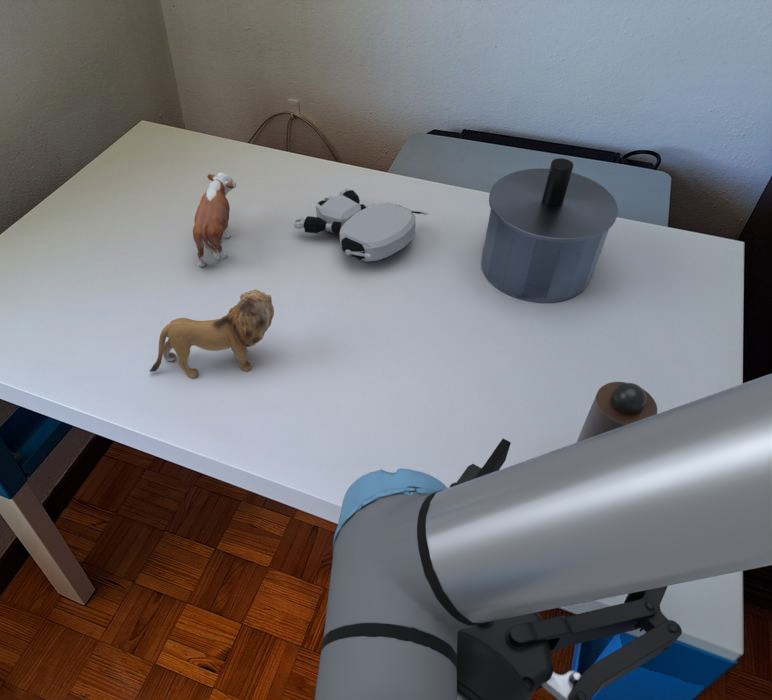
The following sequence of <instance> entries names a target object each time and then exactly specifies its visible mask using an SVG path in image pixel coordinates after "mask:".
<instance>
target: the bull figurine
mask: <svg viewBox="0 0 772 700" xmlns="http://www.w3.org/2000/svg"><path fill="white" fill-rule="evenodd" d="M207 179H208V180H209V181H211V182H210V183H209V185H208V187H207V188H206V190H205V191H204V194H202V196H201V198H200V201H199V204H198V207H197V208H196V212H195V215H194V225H193V228H192V237H193V241H194V243H195V245H196V248H197V258H198V267H200V268H204V267H206V264H207V263H206V262H205V260H204V256H205V255H204V254H205V251H204V250H205V249H206V250H207V251H212V255H213V258H214V259H216V260H217V261H219V260H225V259H227V258H228V255H227V253H226V252H224V251H223V247H222V241H223V238H225V239H230V238H231V234H230V233H229V231H228V227H229V219H230V210H231V209H230V207H231V206H230V203H229V200H228V198H227V197H226V196H227V195H228V193H229V192H231V191H232V190H234V189H236V187H237V181H236V180H234V179H233V177H232V176H231V175H228V174H226V173H224V172H221V171H220V172H218V173H217V174H216V175H215V174H213V173H209V174H207Z"/></svg>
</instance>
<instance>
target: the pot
mask: <svg viewBox="0 0 772 700" xmlns="http://www.w3.org/2000/svg"><path fill="white" fill-rule="evenodd" d="M608 233H609V230H608V231H606V232H605V233H603V234H601V235H600V236H597V237H595V238H592V239H588V240H584V241H578V242H551V241H545V240H539V239H535V238H532V237H528V236H525V235H523V234H520V233H518V232H516V231H514V230H512V229H510V228H509V227H507V226H506V225H504V224H503V223H502V222H501V221H499V220H498V219H497V217H496V216H495V215H494V214H493V212H492V210H491V209H490V211H489V216H488V222H487V228H486V233H485V238H484V243H483V247H482V254H481V259H480V260H481V261H480V264H481V265H480V266H481V270H482V272H483V275H484V276H485V278H486V279H487V280H488V282H489V283H491V285H493V287H494V288H497V289H498V290H499V291H501V292H502V293H504V294H506V295H509V296H511V297H513V298H516V299H519V300H523V301H525V302H530V303H531V302H532V303H540V304H550V303H561V302H564V301H568V300H571V299H574V298H575V297H577V296H579V295H580V294H582V293H583V292H584V291H585V290H586V289H587V288H588V286H589V284H590V282H591V280H593V276H594V273H595V271H596V268H597V265H598V262H599V259H600V256H601V253H602V250H603V248H604V244H605V242H606V239H607V236H608Z"/></svg>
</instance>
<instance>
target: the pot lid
mask: <svg viewBox="0 0 772 700" xmlns="http://www.w3.org/2000/svg"><path fill="white" fill-rule="evenodd" d="M573 169H574V163H573V161H571V160H569V159H567V158H560V157H559V158H555V159H553V160H552V161H551V163H550V166H549V168H539V167H537V168H528V169H522V170H517V171H514V172H512V173H509V174H506V175H504V176H503V177H501V178H500V179H498V180H497V181H496V182H495V183H494V184H493V185H492V187H491V188H490V191H489V194H488V206H489V208H490V211H491V210H492V212H493V214H494V215H495V216H496V217H497V219H498V220H499V221H501V222H502V223H503V224H504V225H506V226H507V227H509V228H510V229H512V230H514V231H516V232H518V233H520V234H523V235H525V236H528V237H532V238H535V239H539V240H545V241H551V242H578V241H584V240H588V239H592V238H595V237H597V236H600V235H601V234H603V233H605V232H606V231H608V232H609V230H610V229H611V228H612V227H613V226H614V224H615V223H616V221H617V217H618V213H619V209H618V208H619V207H618V203H617V201H616V199H615V197H614V196H613V195H612V194H611V193H610V191H609V190H607V189H606V188H605V187H604V186H602V185H601V184H600V183H598V182H597V181H595V180H593V179H591V178H588V177H587V176H584V175H581V174H578V173H575V172H573Z"/></svg>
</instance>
